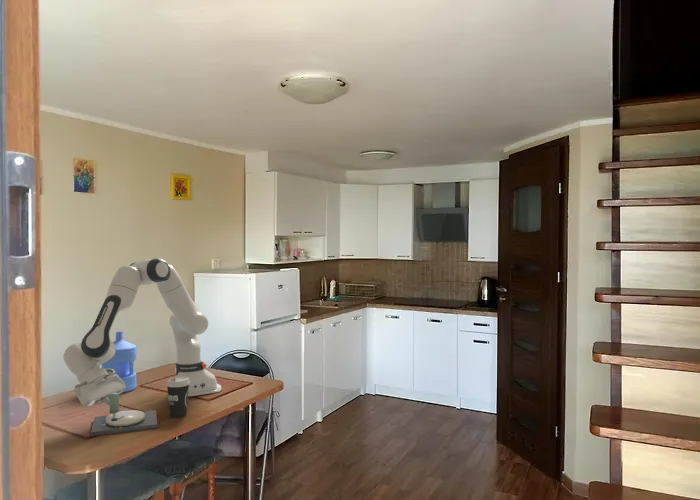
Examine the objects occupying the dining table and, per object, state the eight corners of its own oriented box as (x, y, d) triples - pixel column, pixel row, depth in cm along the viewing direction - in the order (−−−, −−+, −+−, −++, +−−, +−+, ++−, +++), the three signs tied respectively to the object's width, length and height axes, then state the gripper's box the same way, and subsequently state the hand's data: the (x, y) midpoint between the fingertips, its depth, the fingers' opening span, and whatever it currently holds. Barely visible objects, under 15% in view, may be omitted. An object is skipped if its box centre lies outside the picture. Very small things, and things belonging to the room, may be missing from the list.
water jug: (94, 393, 244) (94, 334, 243) (113, 384, 259) (113, 329, 259) (125, 394, 242) (125, 335, 242) (142, 385, 257) (142, 329, 257)
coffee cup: (171, 411, 218) (171, 375, 218) (193, 411, 218) (193, 376, 218) (162, 418, 209) (162, 381, 209) (185, 419, 208) (185, 382, 208)
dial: (125, 412, 211) (125, 383, 211) (152, 416, 206) (152, 387, 206) (97, 423, 198) (97, 392, 198) (124, 428, 193) (124, 397, 193)
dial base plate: (156, 413, 215) (155, 409, 215) (157, 428, 198) (157, 423, 198) (94, 420, 206) (94, 416, 206) (90, 436, 189) (90, 431, 189)
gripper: (76, 381, 191) (98, 409, 188) (116, 368, 211) (136, 393, 208) (67, 392, 192) (88, 420, 190) (107, 378, 212) (127, 403, 209)
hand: (114, 406), depth 199 cm, fingers closed, pressing on dial
